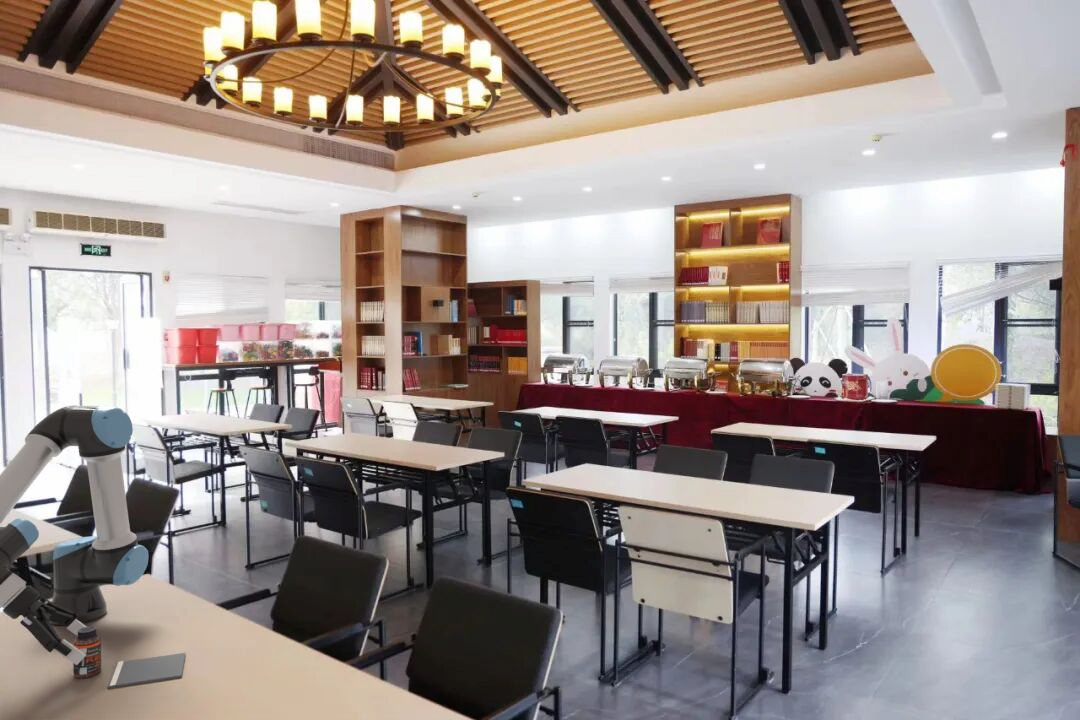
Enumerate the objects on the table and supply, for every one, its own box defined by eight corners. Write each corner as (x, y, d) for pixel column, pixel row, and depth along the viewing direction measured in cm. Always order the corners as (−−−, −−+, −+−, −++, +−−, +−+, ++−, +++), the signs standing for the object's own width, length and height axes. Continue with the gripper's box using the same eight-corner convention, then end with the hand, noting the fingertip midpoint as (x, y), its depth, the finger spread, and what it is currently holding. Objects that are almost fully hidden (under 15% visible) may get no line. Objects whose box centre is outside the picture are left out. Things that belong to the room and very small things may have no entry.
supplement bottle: (88, 680, 183) (87, 634, 183) (67, 678, 185) (66, 632, 184) (107, 669, 189) (106, 625, 189) (86, 667, 190) (85, 623, 190)
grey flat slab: (116, 664, 192) (116, 662, 192) (185, 654, 198) (185, 652, 198) (107, 688, 179) (107, 685, 179) (181, 677, 185) (181, 674, 185)
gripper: (16, 592, 191) (84, 642, 197) (-16, 628, 168) (63, 682, 174) (40, 569, 193) (107, 619, 199) (12, 601, 170) (89, 656, 176)
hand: (87, 649), depth 186 cm, fingers open, 13 cm apart
